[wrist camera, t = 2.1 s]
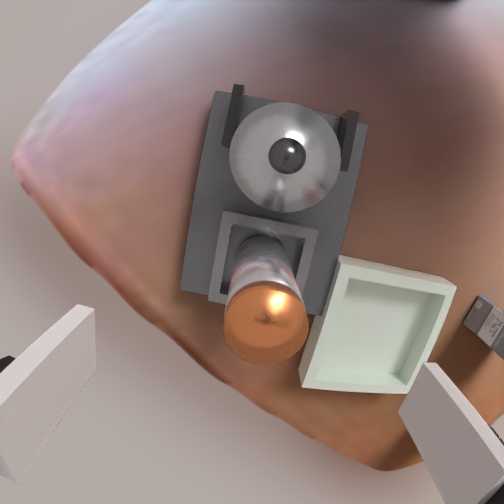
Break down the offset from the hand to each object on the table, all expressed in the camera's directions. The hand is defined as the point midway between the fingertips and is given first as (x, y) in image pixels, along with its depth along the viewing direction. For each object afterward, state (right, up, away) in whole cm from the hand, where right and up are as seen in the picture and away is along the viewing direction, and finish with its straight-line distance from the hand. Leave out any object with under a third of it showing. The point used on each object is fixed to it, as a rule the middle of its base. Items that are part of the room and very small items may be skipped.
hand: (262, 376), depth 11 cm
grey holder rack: (+1, +8, +15) cm, 17 cm away
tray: (+11, -2, +18) cm, 21 cm away
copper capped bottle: (0, +4, +14) cm, 15 cm away
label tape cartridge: (+27, -3, +18) cm, 33 cm away
